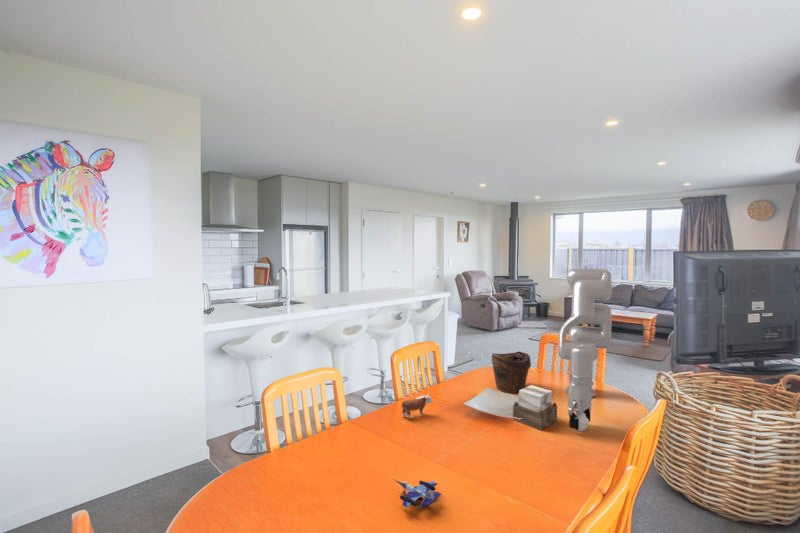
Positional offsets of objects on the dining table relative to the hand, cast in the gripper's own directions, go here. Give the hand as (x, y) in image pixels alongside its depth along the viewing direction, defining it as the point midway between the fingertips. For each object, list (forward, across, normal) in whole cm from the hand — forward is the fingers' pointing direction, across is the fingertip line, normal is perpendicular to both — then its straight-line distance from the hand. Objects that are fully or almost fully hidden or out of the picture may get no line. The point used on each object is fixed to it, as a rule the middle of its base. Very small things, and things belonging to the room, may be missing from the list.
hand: (579, 424), depth 150 cm
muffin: (+2, 0, 0) cm, 2 cm away
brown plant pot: (+2, -17, -41) cm, 44 cm away
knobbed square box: (+2, +6, -15) cm, 16 cm away
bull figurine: (+2, +38, -49) cm, 62 cm away
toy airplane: (+2, +75, -11) cm, 76 cm away
